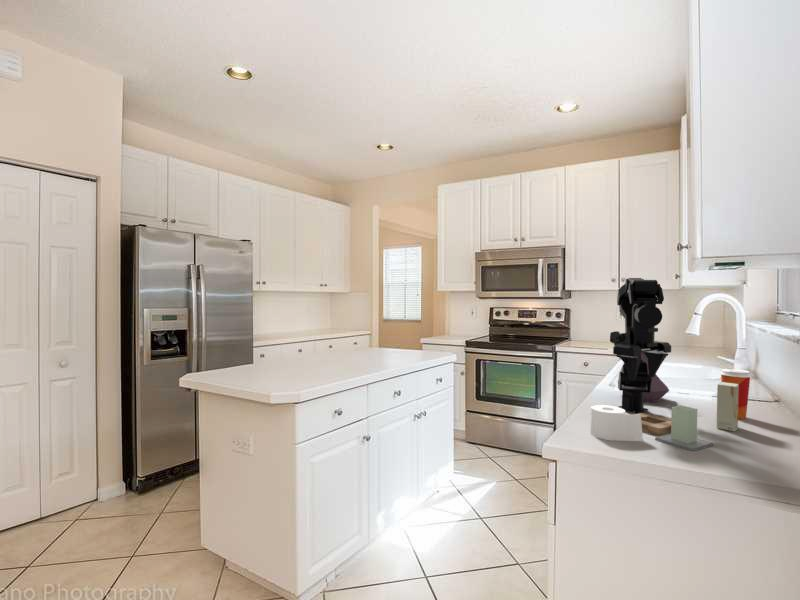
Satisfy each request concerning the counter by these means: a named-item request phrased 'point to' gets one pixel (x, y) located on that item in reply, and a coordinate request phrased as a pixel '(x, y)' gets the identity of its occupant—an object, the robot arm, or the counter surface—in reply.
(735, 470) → the counter surface
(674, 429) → the green block
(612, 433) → the toilet paper
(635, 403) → the robot arm
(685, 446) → the coaster
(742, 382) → the paper cup
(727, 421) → the skincare box
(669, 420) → the pocket block
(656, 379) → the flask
